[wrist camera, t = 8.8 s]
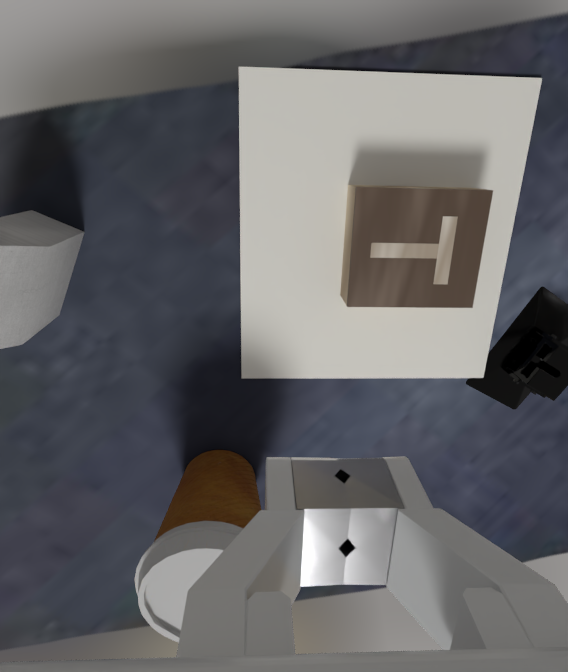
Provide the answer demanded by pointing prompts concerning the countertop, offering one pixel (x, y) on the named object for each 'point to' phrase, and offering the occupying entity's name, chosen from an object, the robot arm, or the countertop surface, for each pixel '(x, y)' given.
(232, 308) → the countertop surface
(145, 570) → the disposable coffee cup
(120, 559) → the countertop surface
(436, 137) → the felt mat
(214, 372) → the countertop surface
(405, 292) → the letter block
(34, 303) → the grey angular block
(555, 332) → the black mounting plate
